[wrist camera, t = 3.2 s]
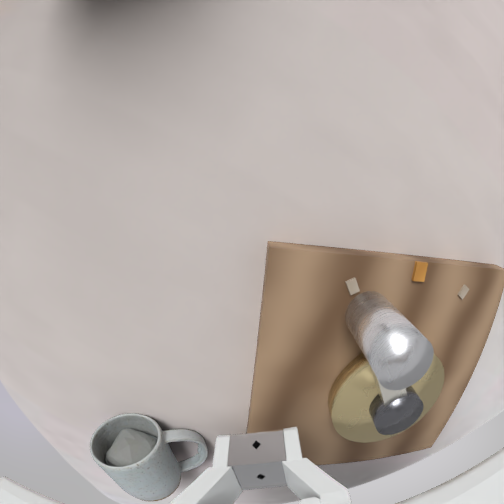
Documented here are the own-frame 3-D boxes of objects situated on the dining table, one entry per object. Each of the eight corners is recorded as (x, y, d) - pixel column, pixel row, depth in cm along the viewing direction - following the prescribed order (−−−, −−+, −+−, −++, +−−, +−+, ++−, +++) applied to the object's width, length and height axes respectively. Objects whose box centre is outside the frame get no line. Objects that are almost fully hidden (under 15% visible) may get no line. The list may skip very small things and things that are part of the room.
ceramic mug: (134, 456, 27) (116, 502, 19) (104, 410, 25) (77, 459, 17) (217, 459, 26) (211, 513, 19) (197, 411, 24) (183, 473, 17)
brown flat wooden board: (494, 264, 20) (509, 271, 18) (425, 436, 25) (431, 448, 23) (267, 241, 20) (269, 248, 18) (244, 450, 25) (243, 466, 23)
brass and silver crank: (414, 253, 18) (484, 290, 10) (437, 396, 21) (473, 448, 13) (283, 315, 19) (297, 389, 12) (344, 442, 22) (361, 505, 15)
